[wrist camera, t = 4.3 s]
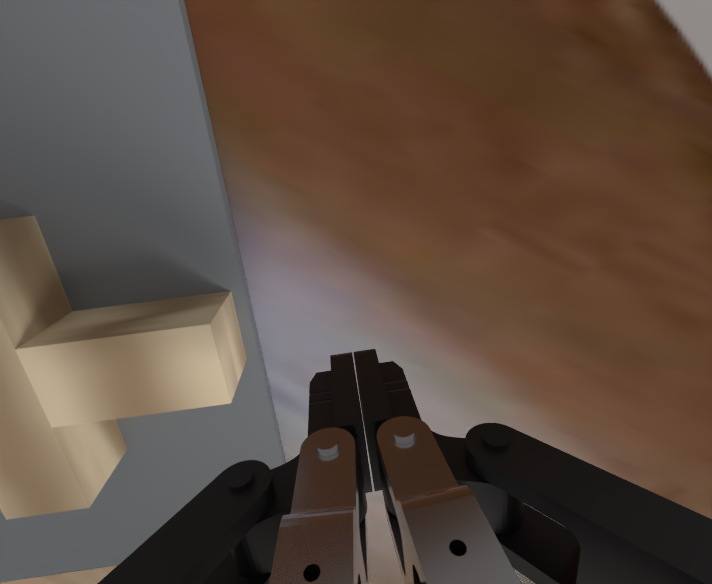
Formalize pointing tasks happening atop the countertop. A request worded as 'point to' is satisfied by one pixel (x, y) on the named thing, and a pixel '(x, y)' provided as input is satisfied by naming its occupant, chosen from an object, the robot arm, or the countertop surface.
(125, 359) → the t block
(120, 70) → the board
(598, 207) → the countertop surface
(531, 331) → the countertop surface
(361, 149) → the countertop surface
